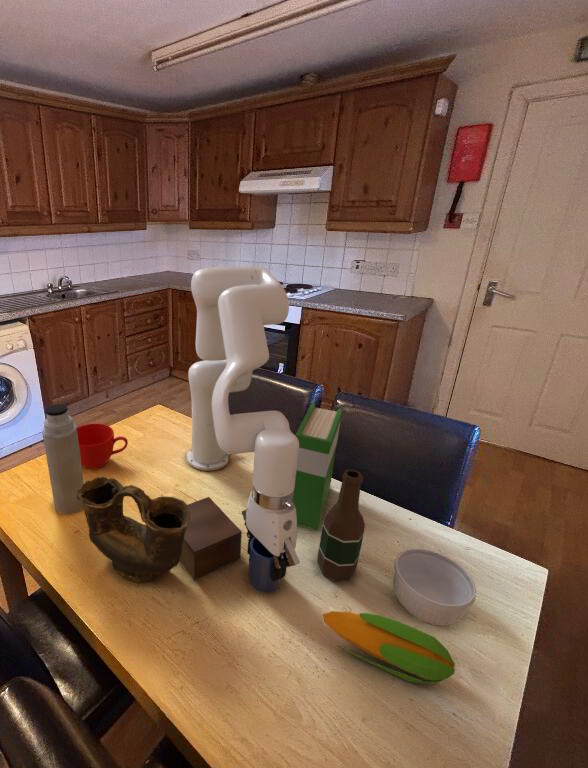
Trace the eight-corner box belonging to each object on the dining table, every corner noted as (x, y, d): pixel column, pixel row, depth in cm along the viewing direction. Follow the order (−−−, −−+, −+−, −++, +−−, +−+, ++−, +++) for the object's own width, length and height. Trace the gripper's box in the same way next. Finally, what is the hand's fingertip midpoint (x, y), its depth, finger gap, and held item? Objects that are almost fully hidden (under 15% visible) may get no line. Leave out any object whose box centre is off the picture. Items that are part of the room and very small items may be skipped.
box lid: (165, 515, 93) (164, 512, 93) (208, 499, 98) (208, 496, 98) (194, 555, 83) (194, 552, 82) (241, 534, 88) (241, 531, 87)
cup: (266, 561, 89) (269, 529, 86) (288, 584, 84) (292, 550, 80) (241, 573, 87) (243, 540, 83) (261, 598, 81) (265, 564, 78)
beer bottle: (354, 558, 90) (373, 465, 80) (356, 587, 83) (377, 490, 73) (317, 550, 92) (331, 459, 83) (315, 577, 85) (331, 481, 76)
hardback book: (302, 480, 115) (311, 403, 106) (329, 488, 112) (342, 409, 102) (285, 520, 101) (295, 434, 91) (317, 530, 98) (330, 442, 88)
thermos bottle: (61, 493, 112) (46, 399, 101) (89, 494, 111) (78, 400, 100) (49, 513, 105) (32, 414, 94) (80, 514, 104) (67, 416, 93)
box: (166, 540, 96) (166, 517, 93) (209, 523, 100) (209, 500, 98) (194, 580, 85) (194, 555, 83) (240, 558, 90) (241, 534, 88)
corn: (463, 673, 60) (321, 616, 69) (451, 708, 63) (315, 650, 71) (458, 632, 66) (328, 585, 75) (447, 666, 69) (322, 617, 78)
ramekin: (469, 646, 72) (480, 618, 69) (385, 613, 78) (392, 586, 75) (464, 588, 82) (473, 562, 80) (390, 564, 88) (397, 539, 86)
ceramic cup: (126, 475, 119) (124, 445, 115) (67, 475, 119) (63, 446, 115) (131, 451, 131) (129, 423, 127) (78, 451, 131) (74, 423, 127)
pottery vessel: (74, 562, 90) (62, 487, 82) (103, 529, 99) (95, 459, 91) (177, 605, 80) (175, 525, 72) (199, 565, 89) (200, 489, 81)
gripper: (322, 514, 71) (311, 589, 78) (259, 463, 85) (253, 531, 92) (289, 529, 68) (280, 606, 75) (228, 474, 82) (225, 543, 89)
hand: (265, 564), depth 84 cm, fingers closed on cup, 6 cm apart
